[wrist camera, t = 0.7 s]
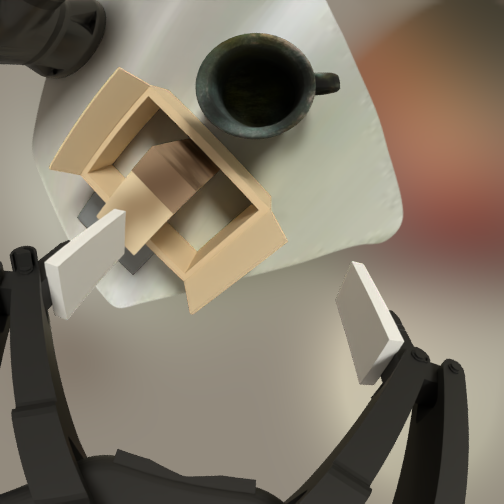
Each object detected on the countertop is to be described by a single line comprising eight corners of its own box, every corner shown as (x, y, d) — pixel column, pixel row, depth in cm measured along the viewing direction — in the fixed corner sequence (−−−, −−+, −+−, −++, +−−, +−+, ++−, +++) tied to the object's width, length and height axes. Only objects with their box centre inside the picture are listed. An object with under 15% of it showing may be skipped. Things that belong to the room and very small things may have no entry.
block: (145, 186, 40) (95, 216, 28) (191, 138, 37) (152, 146, 24) (173, 215, 42) (134, 255, 29) (221, 168, 39) (196, 191, 26)
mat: (79, 216, 43) (77, 217, 42) (109, 173, 40) (107, 174, 39) (134, 273, 47) (133, 275, 46) (169, 237, 44) (168, 238, 43)
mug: (211, 66, 33) (187, 44, 22) (320, 53, 31) (340, 27, 20) (223, 141, 37) (204, 147, 26) (331, 129, 36) (356, 131, 25)
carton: (94, 153, 38) (47, 167, 28) (156, 78, 34) (117, 66, 23) (209, 271, 46) (192, 315, 35) (284, 210, 41) (288, 242, 30)
